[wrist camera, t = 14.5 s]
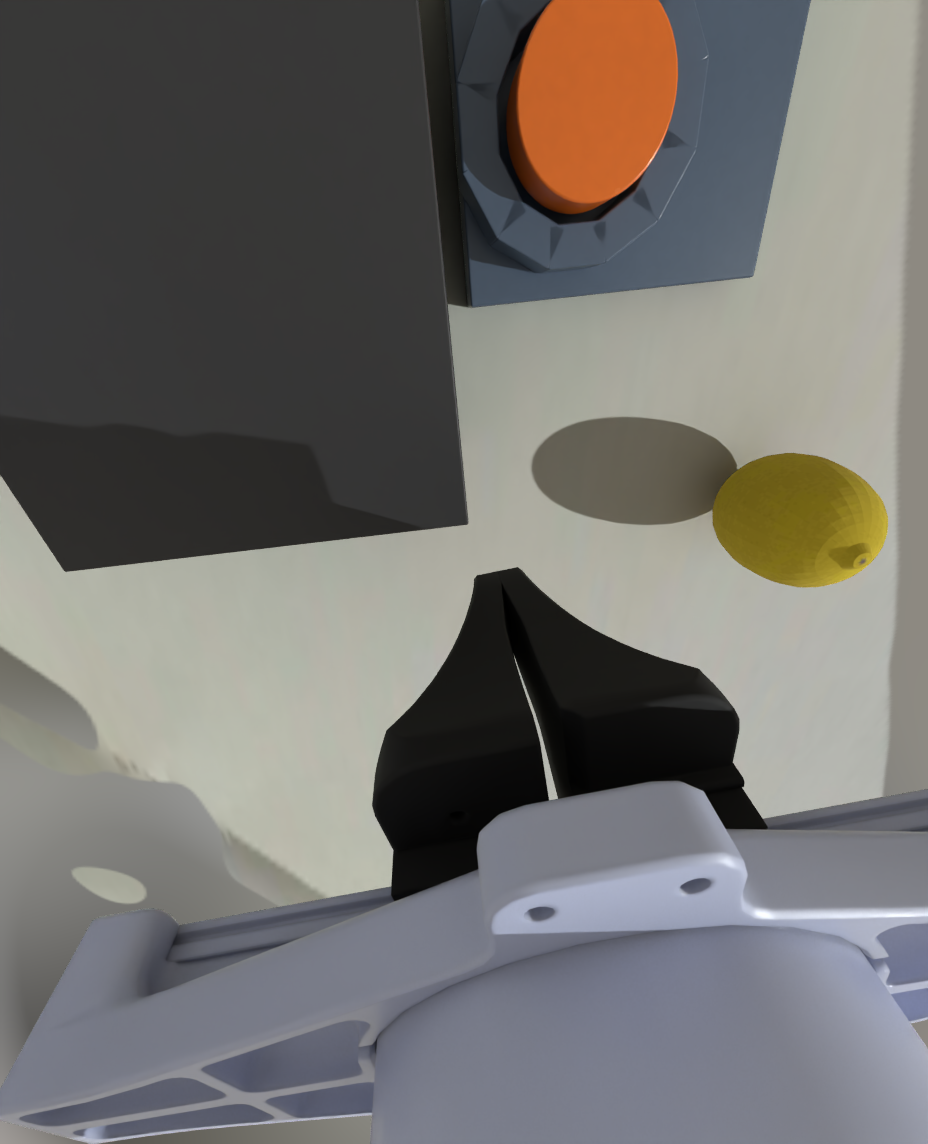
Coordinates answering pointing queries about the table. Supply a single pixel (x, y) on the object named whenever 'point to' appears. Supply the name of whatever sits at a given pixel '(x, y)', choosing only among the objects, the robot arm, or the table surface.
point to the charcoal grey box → (221, 277)
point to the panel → (665, 189)
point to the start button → (591, 100)
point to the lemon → (800, 520)
